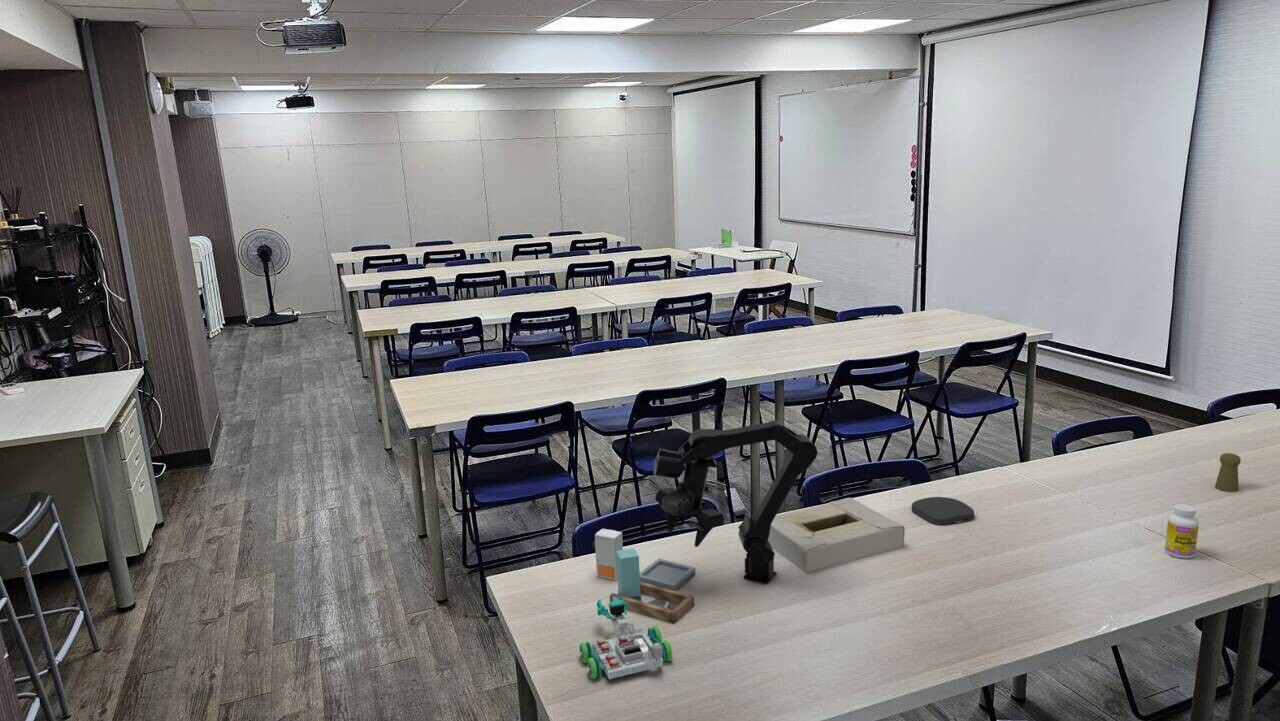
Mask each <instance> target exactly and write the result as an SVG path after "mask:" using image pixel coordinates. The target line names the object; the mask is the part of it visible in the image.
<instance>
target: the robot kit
mask: <svg viewBox="0 0 1280 721" xmlns="http://www.w3.org/2000/svg"><path fill="white" fill-rule="evenodd" d="M602 601H603V600H602V599H598V600H597V602H596V609H597V610H596V611H597V615H598V616H604V617H605V619H608V620H611V621H612V624H613V625H614V628H615V634H612V635H611V634H610V635H609V639H605V638H603V637H600V638H599V639H597V640H596V641H594V640H593V641H591V643H590V641H586V642H583V641H582V642H580V644H579V649H578V650H579V653H578V654H579V656H580V659H581V662H582V663H583V664H587V665H586V666H587V668H586V670H587V672H588V674H589V677H590V679H592V680H596V678H601V677H602V671H604V672H605V675H606V676H607V678H608V679H609V680H612V679H615V678H619V677H624V676H627V675H632V674H636V673H640V672H644V671H649V670H653V669H656V668H661V667H663V666H664V663H665V662H666V661H667V662H670V661H672V660H673V650H672V646H671V643H670V642H669V640H667V639H666V640H665V639H664V640H663V637H662V633H661V630H660V628H659V627H658V626H657V625H653V627H648V628H647V634H646V632H645V631H644V628H638V629H635V624H634V622H630V623H629V622H627V620H626V619H627V618H626V616H627V615H628V610H627V609H628V607H627V605H628V604H627V603H626V602H625V601H623V600H622V599H621V598H619V597H616V596H613V602H610V601H609V603H608V607H609V608H607V607H606V606H605V605H603V602H602ZM621 628H625V629H626V630H627V629H628V630H627V631H624V632H621V631H622V630H621Z"/></svg>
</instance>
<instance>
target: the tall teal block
mask: <svg viewBox="0 0 1280 721" xmlns="http://www.w3.org/2000/svg"><path fill="white" fill-rule="evenodd" d="M616 554H617V574H618V580H617V592H618V593H617V594H618V595H621V596H625V597H628V598H632V599H635V600H638V601H642V594H641V593H640V572H641V571H640V556H639V554H638V551H636V549H635V547H633V548H632V547H631V548H627V549H623V550H619V551H616Z"/></svg>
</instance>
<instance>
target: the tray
mask: <svg viewBox="0 0 1280 721" xmlns="http://www.w3.org/2000/svg"><path fill="white" fill-rule="evenodd" d="M695 576H696V567H694V566H691V565H686V564H682V563H678V562H674V561H672V560H671V561H670V560H666V559H664V558H657V559H656V560H654V562H652V563H651V564H649V565H648V566H647V567H646V568H644V569H642V570H641V571H640V581H641V582H645V583H648V584H652V585H655V586H659V587H663V588H666V589H670V590H674V591H677V592H678V590H679V589H680V588H682V587H683V586H684V585H685V584H686V583H687V582H688V581H689V580H691V579H692V578H693V577H695Z"/></svg>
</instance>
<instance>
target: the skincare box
mask: <svg viewBox="0 0 1280 721" xmlns="http://www.w3.org/2000/svg"><path fill="white" fill-rule="evenodd" d="M594 545H595V546H594V547H595V566H596V577H598V578H603V579H608V580H611V581H616V582H618V574H617V554H616V551H619V550H624V547H623V532H622V531H618V530H614V529H606V528H601V529H600V530H599V531H596V533H595V534H594Z"/></svg>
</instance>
